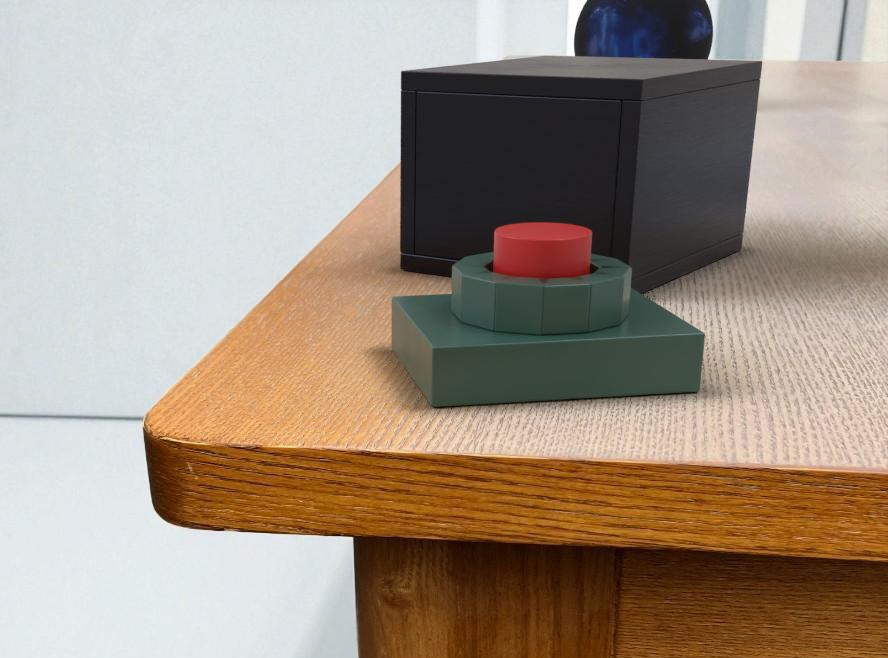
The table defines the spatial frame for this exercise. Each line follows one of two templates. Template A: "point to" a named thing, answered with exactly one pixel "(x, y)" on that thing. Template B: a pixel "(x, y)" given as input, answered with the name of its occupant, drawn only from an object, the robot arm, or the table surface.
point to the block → (542, 338)
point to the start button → (542, 250)
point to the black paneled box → (579, 158)
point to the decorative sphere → (644, 29)
